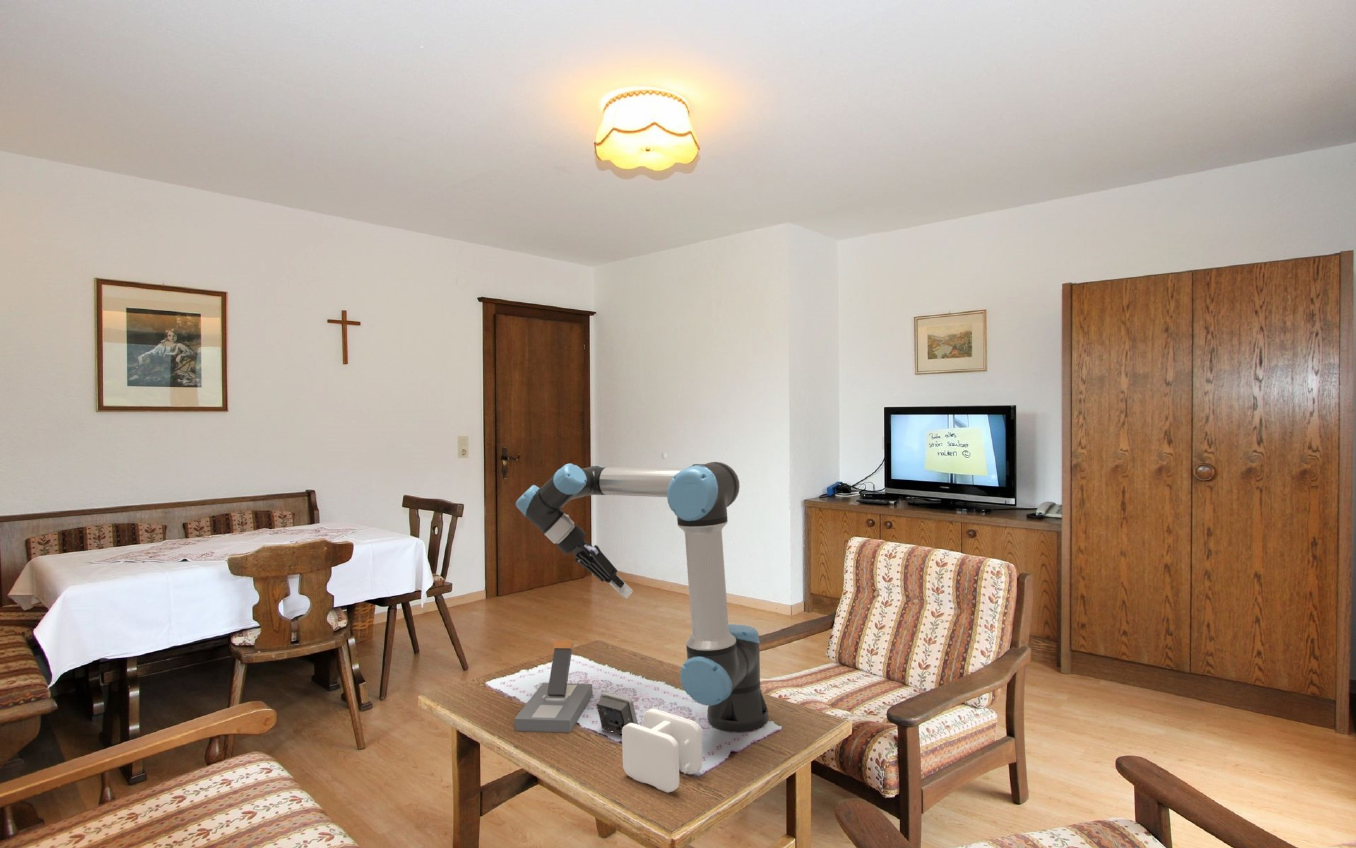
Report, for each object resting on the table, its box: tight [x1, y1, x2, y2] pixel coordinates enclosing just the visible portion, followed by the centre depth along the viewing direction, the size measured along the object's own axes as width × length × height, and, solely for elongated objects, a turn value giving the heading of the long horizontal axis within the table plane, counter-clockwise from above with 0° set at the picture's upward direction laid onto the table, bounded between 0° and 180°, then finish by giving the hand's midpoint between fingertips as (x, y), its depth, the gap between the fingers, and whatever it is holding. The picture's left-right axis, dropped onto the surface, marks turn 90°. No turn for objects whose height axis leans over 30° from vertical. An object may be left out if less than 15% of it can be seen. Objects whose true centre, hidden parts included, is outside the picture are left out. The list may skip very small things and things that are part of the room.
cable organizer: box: [621, 708, 703, 794], centre depth 149 cm, size 15×11×12 cm
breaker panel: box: [513, 682, 594, 734], centre depth 182 cm, size 22×14×4 cm, turn 173°
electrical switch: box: [595, 691, 639, 735], centre depth 170 cm, size 9×5×9 cm, turn 57°
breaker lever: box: [547, 640, 575, 696], centre depth 187 cm, size 2×5×14 cm
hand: (629, 594), depth 187 cm, fingers closed
